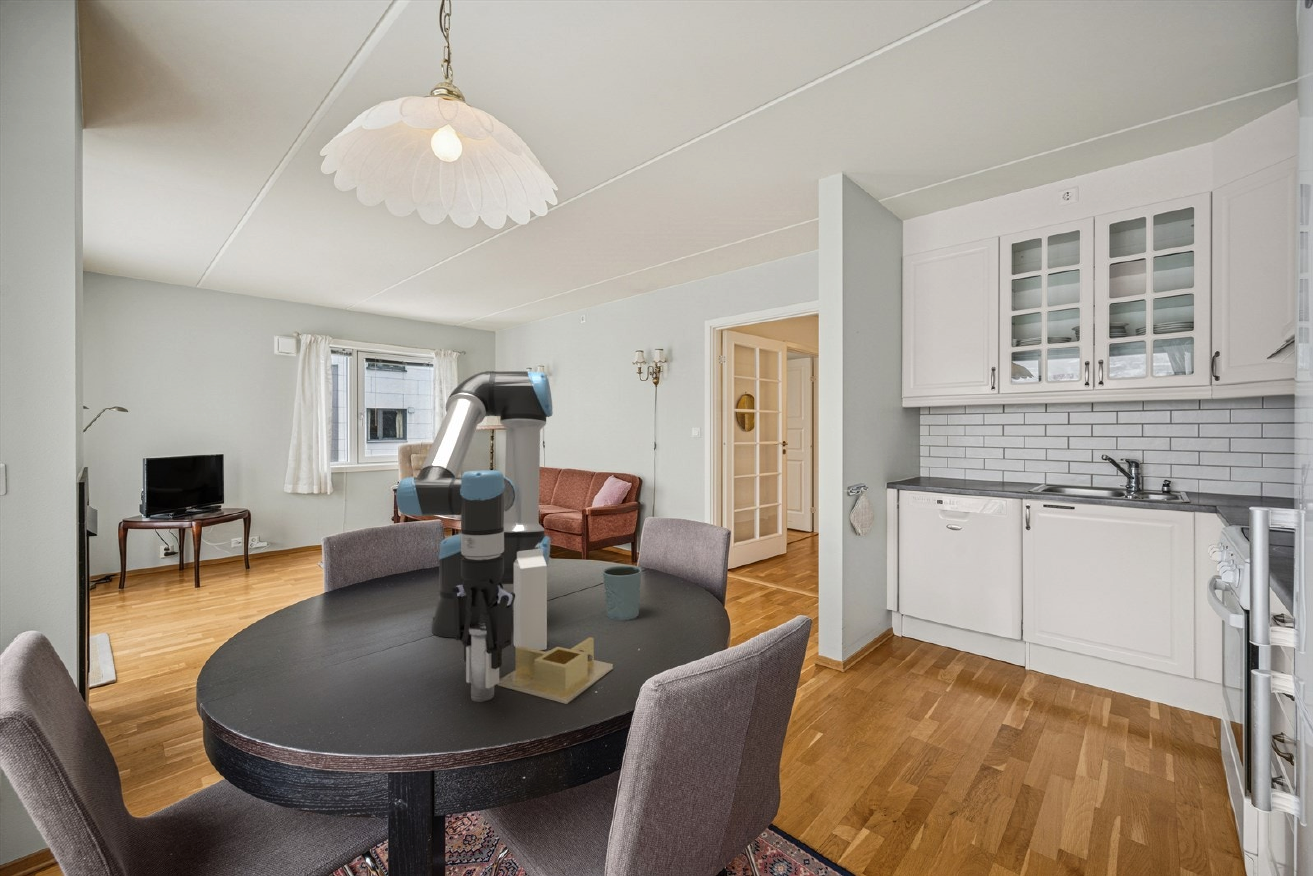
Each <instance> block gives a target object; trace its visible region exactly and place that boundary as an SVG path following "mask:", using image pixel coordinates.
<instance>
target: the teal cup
mask: <svg viewBox="0 0 1313 876" xmlns="http://www.w3.org/2000/svg"><path fill="white" fill-rule="evenodd" d="M602 575H603V577H602V578H603V583H604V584H603V586H604V587H603V588H604V591H605V592H604V597H605V598H604V599H605V602H606V603H605V609H606V616H607V618H608V619H610V620H614V621H631V620H635V619H636V618H637V616H638V617H639V614H640V599H641V596H640V594H641V590H640V589H641V581H642V579H641V578H642V569H641V568H640V567H636V566H631V565H617V566H610V567H607V568H605V569H603V571H602ZM630 619H631V620H630Z"/></svg>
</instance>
